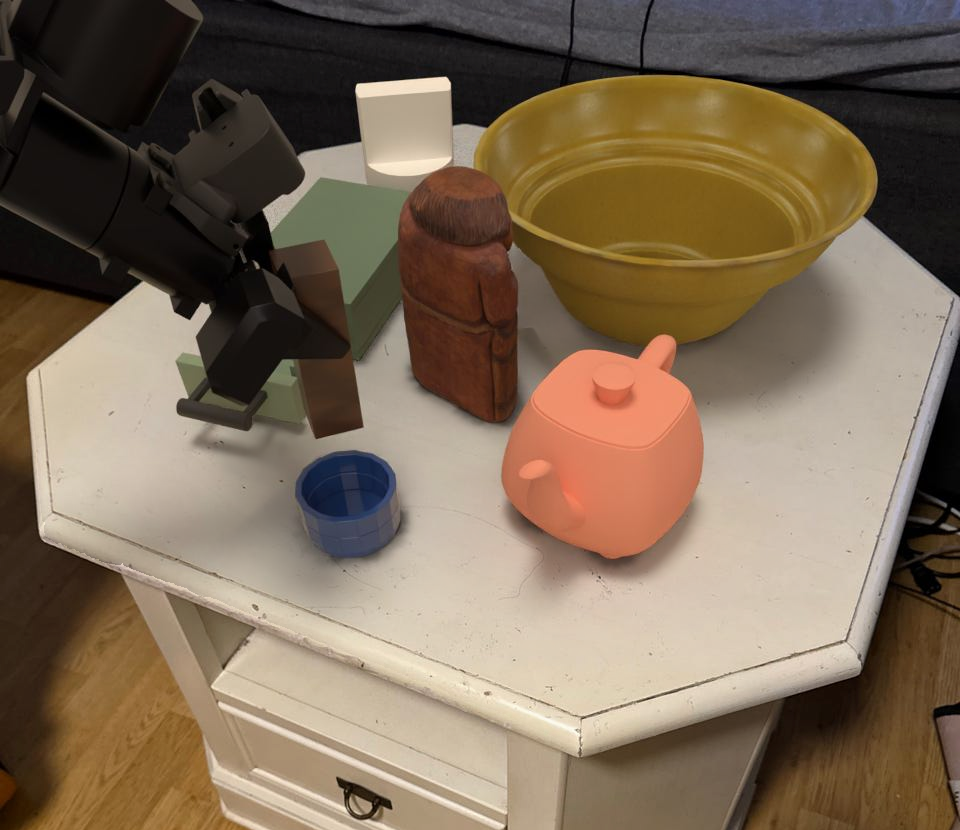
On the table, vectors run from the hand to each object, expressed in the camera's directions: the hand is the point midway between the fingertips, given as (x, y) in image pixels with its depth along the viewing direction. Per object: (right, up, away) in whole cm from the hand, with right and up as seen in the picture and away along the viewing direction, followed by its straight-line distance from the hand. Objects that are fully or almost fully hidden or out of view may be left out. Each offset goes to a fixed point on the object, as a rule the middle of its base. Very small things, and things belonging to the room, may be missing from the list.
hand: (339, 334), depth 56 cm
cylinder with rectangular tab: (+2, +25, +35) cm, 43 cm away
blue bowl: (0, -11, +9) cm, 14 cm away
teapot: (+18, -10, +9) cm, 22 cm away
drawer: (-8, +4, +19) cm, 21 cm away
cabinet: (-4, +14, +26) cm, 30 cm away
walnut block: (-1, -4, +5) cm, 7 cm away
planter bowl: (+25, +12, +25) cm, 37 cm away
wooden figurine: (+8, +2, +18) cm, 20 cm away
